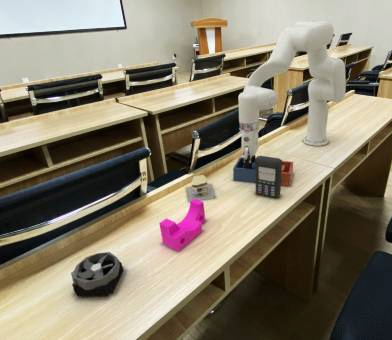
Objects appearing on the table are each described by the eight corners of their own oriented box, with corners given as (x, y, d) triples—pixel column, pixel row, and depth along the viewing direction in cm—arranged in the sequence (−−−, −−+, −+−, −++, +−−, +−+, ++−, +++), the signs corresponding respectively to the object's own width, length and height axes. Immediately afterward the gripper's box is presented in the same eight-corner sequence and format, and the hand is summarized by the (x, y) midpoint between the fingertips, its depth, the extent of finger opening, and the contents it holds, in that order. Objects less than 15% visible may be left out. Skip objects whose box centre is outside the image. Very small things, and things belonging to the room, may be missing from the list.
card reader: (254, 195, 114) (253, 158, 107) (257, 189, 117) (257, 154, 110) (277, 200, 111) (279, 162, 104) (281, 194, 114) (282, 157, 107)
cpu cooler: (123, 251, 80) (108, 281, 71) (127, 267, 83) (113, 298, 74) (83, 251, 80) (63, 282, 71) (89, 267, 83) (70, 299, 74)
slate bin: (240, 168, 133) (239, 156, 130) (264, 171, 131) (264, 159, 128) (233, 180, 124) (233, 168, 121) (259, 183, 121) (259, 170, 119)
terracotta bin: (267, 171, 130) (267, 159, 128) (292, 173, 128) (293, 161, 125) (262, 183, 121) (262, 171, 119) (289, 186, 119) (290, 173, 116)
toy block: (178, 251, 88) (175, 230, 84) (163, 243, 91) (159, 223, 87) (211, 223, 99) (209, 204, 95) (196, 217, 102) (194, 198, 99)
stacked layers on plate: (187, 187, 119) (185, 175, 117) (210, 184, 121) (209, 172, 118) (189, 201, 111) (187, 188, 108) (214, 198, 112) (213, 185, 110)
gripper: (254, 133, 109) (254, 178, 117) (263, 118, 123) (262, 159, 132) (233, 132, 110) (235, 176, 119) (244, 117, 125) (245, 157, 133)
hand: (249, 166), depth 125 cm, fingers open, 5 cm apart
